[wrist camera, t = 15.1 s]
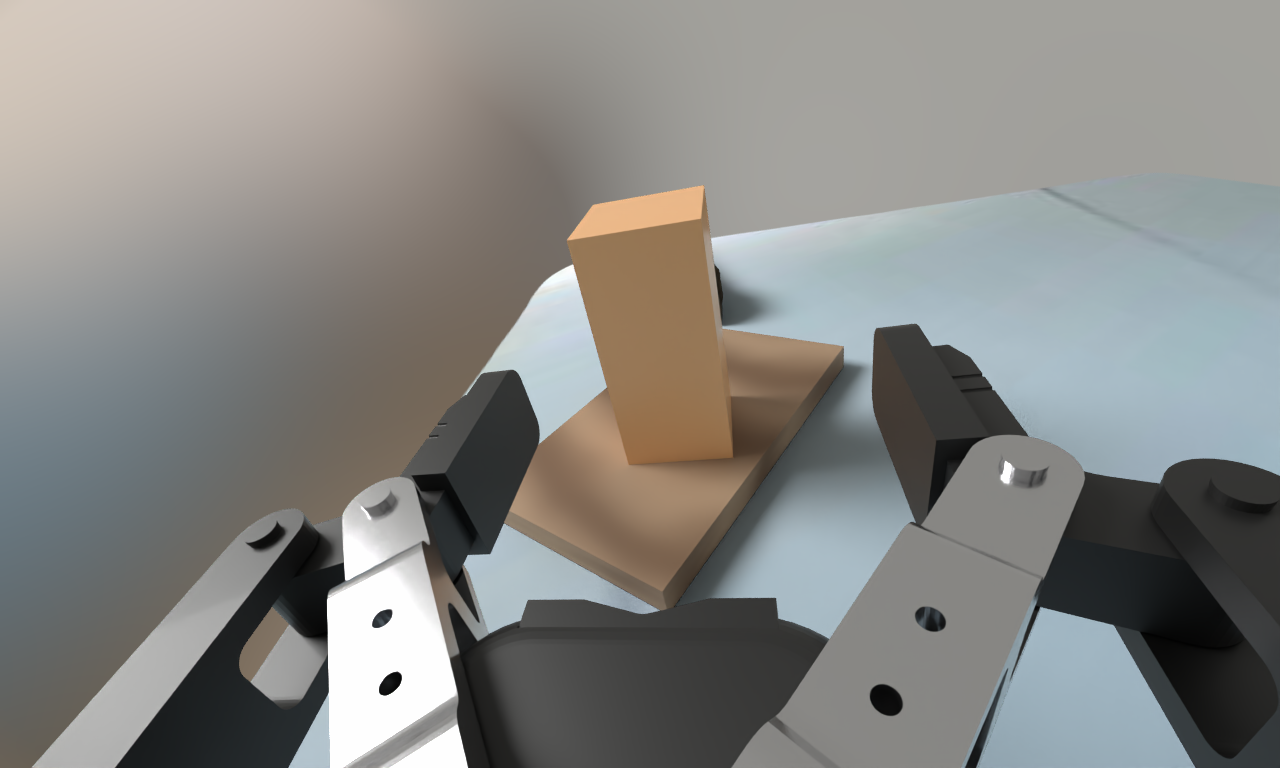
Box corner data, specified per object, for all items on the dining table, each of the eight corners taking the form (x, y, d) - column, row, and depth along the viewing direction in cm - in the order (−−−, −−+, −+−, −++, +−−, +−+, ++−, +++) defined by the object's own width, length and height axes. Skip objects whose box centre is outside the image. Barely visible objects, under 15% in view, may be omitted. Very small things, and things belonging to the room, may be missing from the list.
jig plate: (686, 340, 41) (676, 277, 38) (843, 366, 33) (844, 292, 31) (488, 514, 28) (452, 440, 26) (668, 614, 21) (644, 526, 19)
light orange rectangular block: (641, 404, 32) (593, 204, 25) (730, 396, 31) (704, 185, 24) (628, 464, 27) (566, 240, 21) (733, 457, 26) (701, 218, 20)
